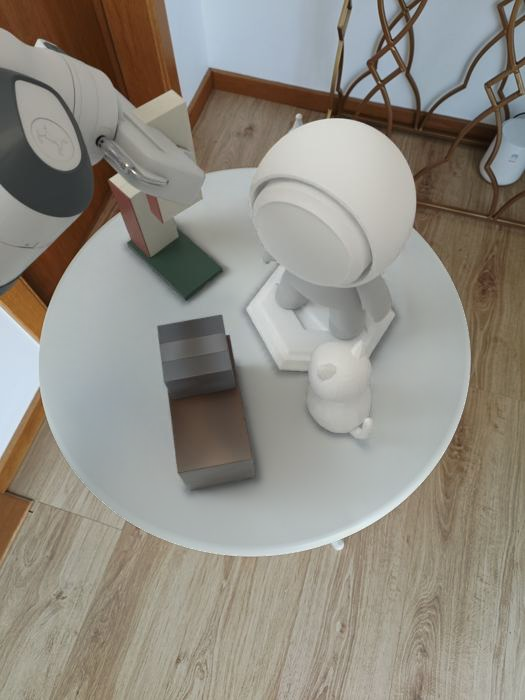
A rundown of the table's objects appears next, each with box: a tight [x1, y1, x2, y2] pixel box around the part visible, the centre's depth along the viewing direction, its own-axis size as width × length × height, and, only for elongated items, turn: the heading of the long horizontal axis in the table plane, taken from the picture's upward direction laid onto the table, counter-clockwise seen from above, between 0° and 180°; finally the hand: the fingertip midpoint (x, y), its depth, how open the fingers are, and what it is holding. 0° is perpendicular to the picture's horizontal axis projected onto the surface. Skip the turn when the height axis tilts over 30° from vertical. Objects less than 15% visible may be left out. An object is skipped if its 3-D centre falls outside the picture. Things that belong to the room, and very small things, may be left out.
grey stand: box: [156, 314, 256, 491], centre depth 69 cm, size 9×17×16 cm, turn 11°
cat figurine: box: [305, 340, 376, 440], centre depth 69 cm, size 9×12×15 cm
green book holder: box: [107, 172, 224, 302], centre depth 82 cm, size 8×15×15 cm, turn 44°
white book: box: [132, 89, 204, 224], centre depth 60 cm, size 6×2×14 cm, turn 129°
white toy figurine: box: [245, 117, 417, 373], centre depth 67 cm, size 20×23×35 cm
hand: (177, 148), depth 60 cm, fingers closed on white book, 2 cm apart
